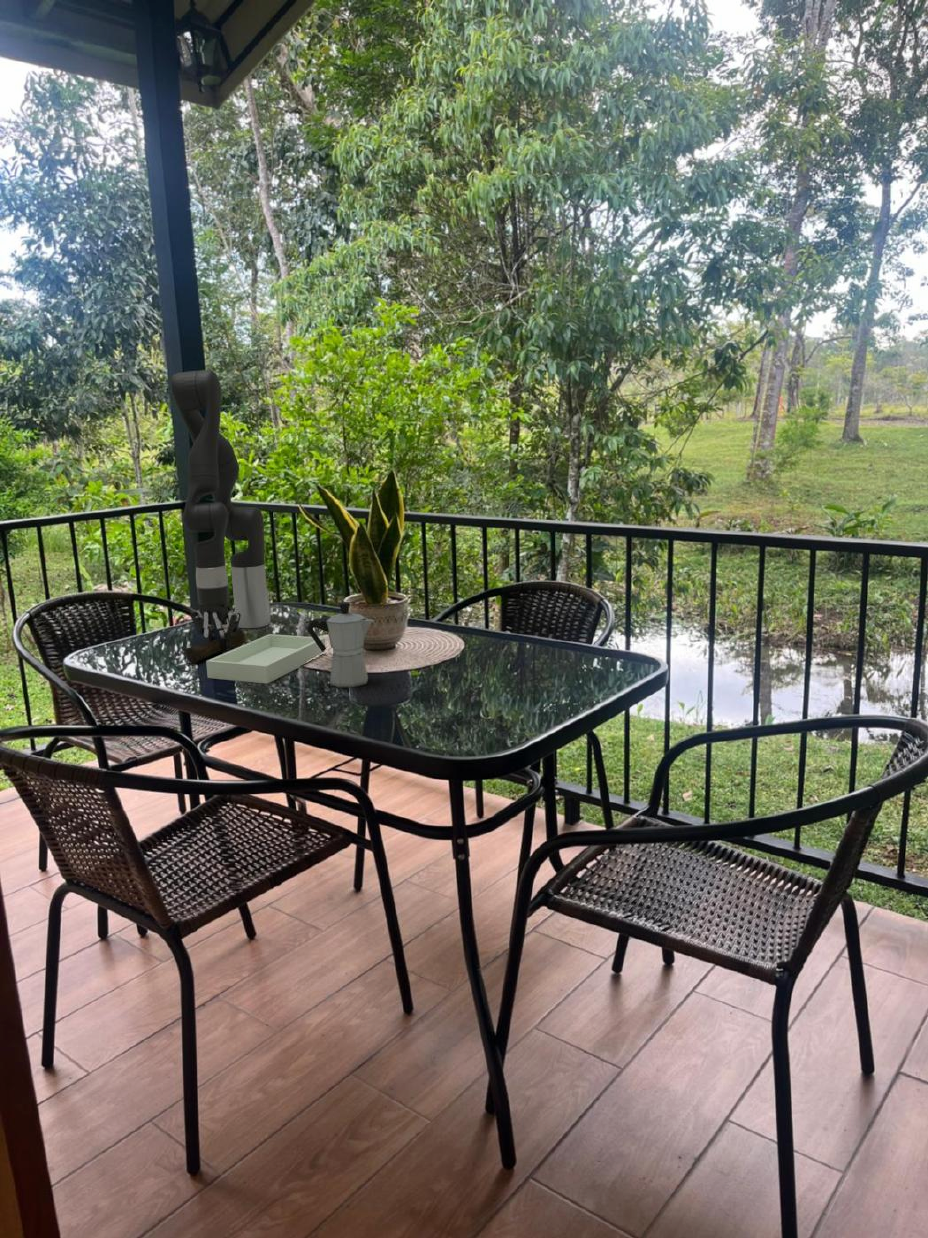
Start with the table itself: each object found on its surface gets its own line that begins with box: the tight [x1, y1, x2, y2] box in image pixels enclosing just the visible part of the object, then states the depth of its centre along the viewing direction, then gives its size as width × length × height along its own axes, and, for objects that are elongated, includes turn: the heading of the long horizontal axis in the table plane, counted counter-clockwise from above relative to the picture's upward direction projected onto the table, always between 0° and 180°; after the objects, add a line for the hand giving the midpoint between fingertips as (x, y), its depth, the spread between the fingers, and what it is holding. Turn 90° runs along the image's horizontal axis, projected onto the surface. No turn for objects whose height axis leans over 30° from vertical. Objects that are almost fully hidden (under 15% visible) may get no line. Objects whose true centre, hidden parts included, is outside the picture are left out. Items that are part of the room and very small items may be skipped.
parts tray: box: [205, 633, 327, 684], centre depth 221 cm, size 26×16×4 cm, turn 159°
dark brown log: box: [185, 628, 246, 664], centre depth 232 cm, size 19×4×5 cm, turn 149°
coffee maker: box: [306, 601, 375, 688], centre depth 204 cm, size 15×9×18 cm, turn 89°
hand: (218, 651), depth 232 cm, fingers closed on dark brown log, 3 cm apart
